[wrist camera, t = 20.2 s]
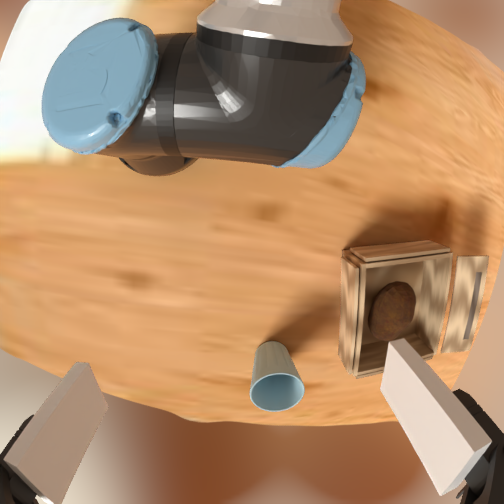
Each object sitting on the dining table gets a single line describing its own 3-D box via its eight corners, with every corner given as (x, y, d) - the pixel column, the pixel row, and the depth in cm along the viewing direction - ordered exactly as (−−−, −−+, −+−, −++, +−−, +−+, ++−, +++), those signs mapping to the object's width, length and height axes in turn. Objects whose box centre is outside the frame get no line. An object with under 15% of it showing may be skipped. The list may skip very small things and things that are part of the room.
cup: (288, 329, 45) (298, 366, 35) (298, 364, 47) (309, 403, 37) (243, 341, 46) (243, 381, 35) (256, 375, 47) (259, 416, 37)
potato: (354, 323, 45) (371, 348, 37) (374, 269, 43) (397, 286, 35) (388, 328, 45) (408, 351, 38) (408, 277, 43) (433, 294, 35)
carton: (336, 245, 42) (355, 259, 34) (425, 237, 42) (453, 247, 34) (334, 353, 47) (348, 380, 39) (414, 337, 47) (435, 358, 39)
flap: (458, 256, 34) (488, 256, 32) (457, 255, 35) (487, 255, 32) (441, 353, 38) (469, 350, 36) (440, 351, 39) (468, 349, 36)
